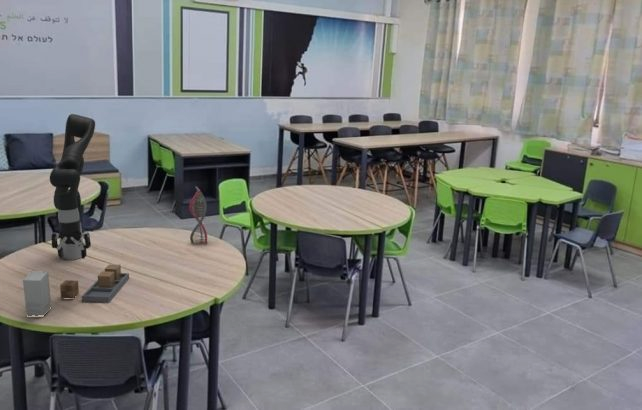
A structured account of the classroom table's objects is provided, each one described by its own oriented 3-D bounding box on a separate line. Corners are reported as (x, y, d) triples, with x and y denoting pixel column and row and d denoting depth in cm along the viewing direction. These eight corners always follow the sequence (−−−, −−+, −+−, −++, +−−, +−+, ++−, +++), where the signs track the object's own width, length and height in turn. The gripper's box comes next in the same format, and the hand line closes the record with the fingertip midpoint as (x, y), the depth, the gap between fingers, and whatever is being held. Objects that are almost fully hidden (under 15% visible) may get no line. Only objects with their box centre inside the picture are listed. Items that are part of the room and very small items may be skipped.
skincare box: (35, 308, 213) (31, 270, 208) (53, 308, 213) (49, 270, 209) (25, 318, 204) (21, 279, 200) (44, 318, 205) (40, 279, 201)
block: (61, 299, 221) (59, 285, 219) (66, 293, 226) (65, 280, 224) (73, 299, 221) (72, 285, 219) (78, 294, 226) (77, 280, 224)
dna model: (203, 246, 284) (202, 190, 276) (187, 245, 286) (185, 189, 278) (210, 241, 293) (209, 186, 285) (194, 239, 294) (193, 185, 286)
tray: (82, 301, 219) (81, 285, 217) (105, 277, 243) (104, 262, 241) (109, 302, 219) (107, 286, 218) (129, 278, 243) (128, 263, 241)
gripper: (90, 216, 220) (94, 254, 224) (54, 216, 219) (58, 254, 223) (84, 222, 212) (87, 261, 217) (46, 221, 211) (50, 261, 216)
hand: (72, 257), depth 220 cm, fingers open, 8 cm apart
